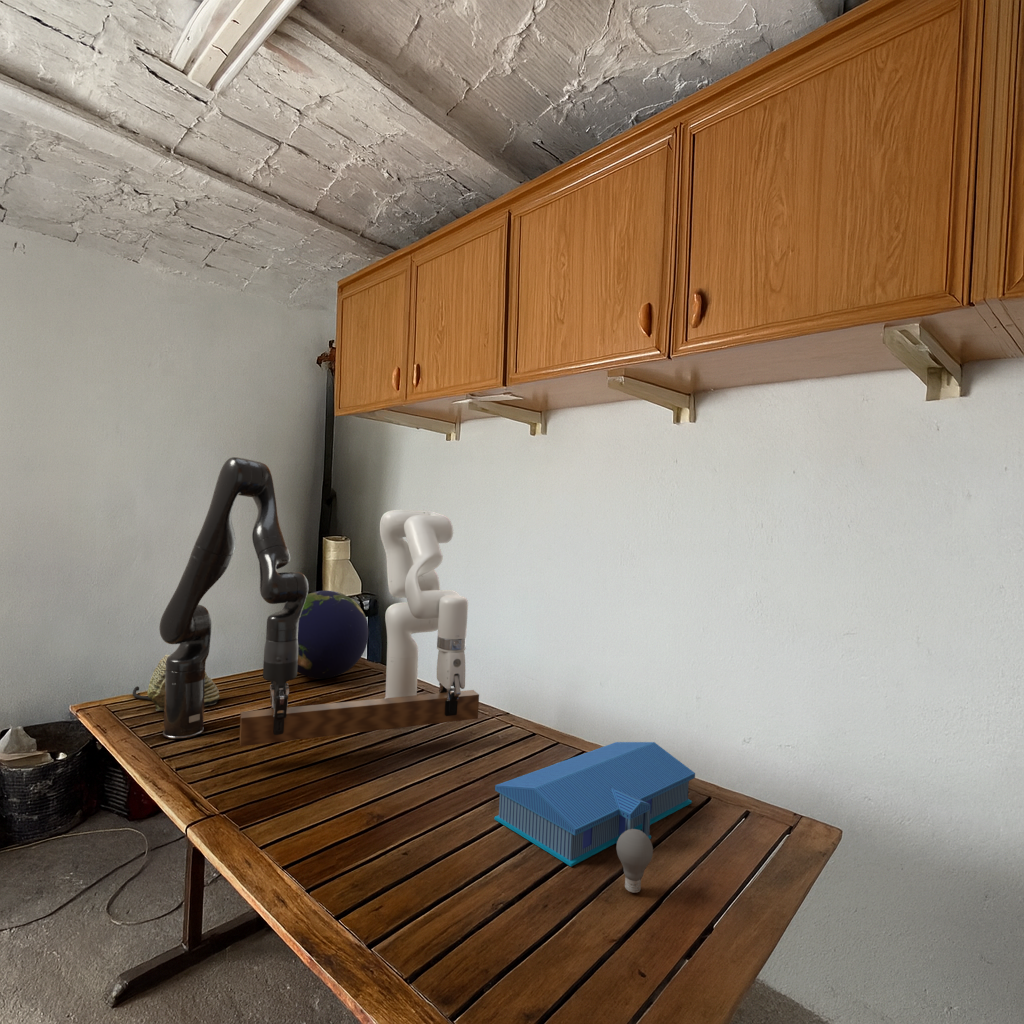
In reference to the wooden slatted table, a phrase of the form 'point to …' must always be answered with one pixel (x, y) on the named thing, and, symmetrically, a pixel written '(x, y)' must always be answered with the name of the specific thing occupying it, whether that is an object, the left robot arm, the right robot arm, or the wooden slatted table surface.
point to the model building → (594, 798)
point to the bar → (355, 717)
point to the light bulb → (634, 857)
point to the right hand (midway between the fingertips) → (447, 711)
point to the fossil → (158, 687)
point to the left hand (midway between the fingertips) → (277, 729)
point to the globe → (330, 635)
